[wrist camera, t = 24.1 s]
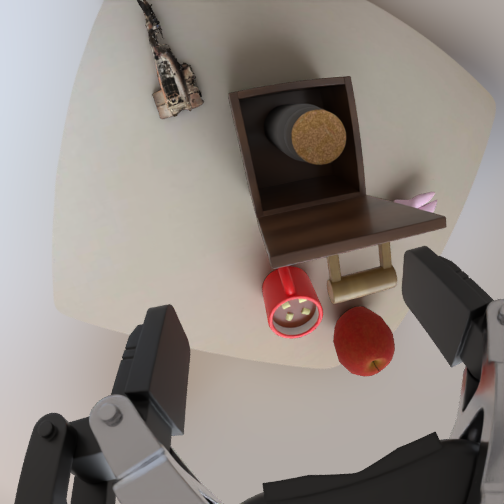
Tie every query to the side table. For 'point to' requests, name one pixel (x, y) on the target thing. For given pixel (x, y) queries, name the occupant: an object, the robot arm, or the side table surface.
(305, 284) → the mug
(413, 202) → the pink creature figurine
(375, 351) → the apple
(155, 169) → the side table surface
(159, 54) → the airplane wreck
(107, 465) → the robot arm
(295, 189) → the chest
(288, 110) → the bottle
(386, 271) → the lid
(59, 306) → the side table surface
